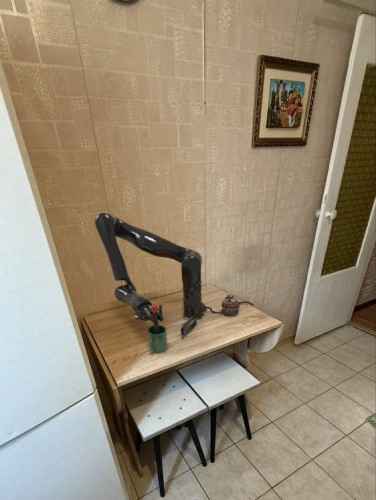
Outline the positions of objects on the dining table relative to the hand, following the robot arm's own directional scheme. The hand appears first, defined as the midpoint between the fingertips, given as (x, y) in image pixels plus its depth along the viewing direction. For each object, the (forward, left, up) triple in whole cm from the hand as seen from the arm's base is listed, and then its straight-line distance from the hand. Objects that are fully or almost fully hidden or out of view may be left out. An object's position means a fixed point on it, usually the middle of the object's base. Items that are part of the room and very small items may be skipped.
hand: (159, 320), depth 113 cm
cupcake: (-33, -33, -16) cm, 50 cm away
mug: (+2, -1, -15) cm, 16 cm away
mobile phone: (-11, -16, -16) cm, 25 cm away
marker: (+2, -2, -7) cm, 8 cm away
